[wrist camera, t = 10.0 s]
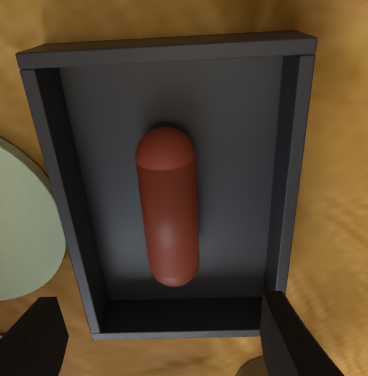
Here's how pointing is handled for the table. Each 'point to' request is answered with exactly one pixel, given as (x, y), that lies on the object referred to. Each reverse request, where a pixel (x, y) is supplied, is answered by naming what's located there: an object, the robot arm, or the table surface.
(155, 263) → the sausage
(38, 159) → the table surface
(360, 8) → the table surface
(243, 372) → the olive chess pawn
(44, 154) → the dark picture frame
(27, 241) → the plate
